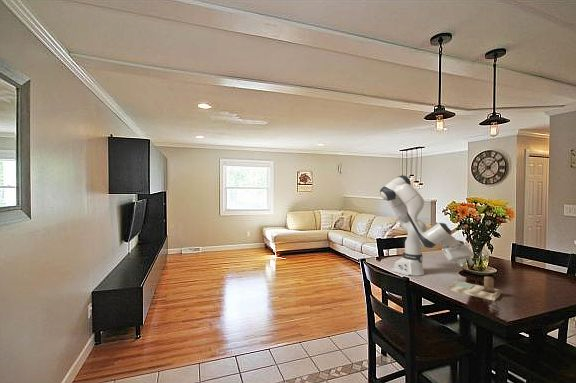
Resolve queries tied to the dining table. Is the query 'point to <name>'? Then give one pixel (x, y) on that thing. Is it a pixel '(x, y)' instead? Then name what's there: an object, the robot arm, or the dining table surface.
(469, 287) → the felt pad
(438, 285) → the dining table surface
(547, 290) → the dining table surface
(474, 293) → the puzzle board
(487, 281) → the wooden cylinder
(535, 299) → the dining table surface
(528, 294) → the dining table surface
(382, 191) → the robot arm
